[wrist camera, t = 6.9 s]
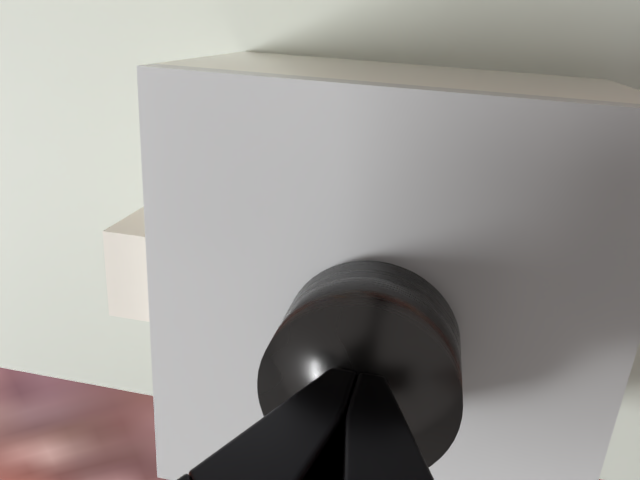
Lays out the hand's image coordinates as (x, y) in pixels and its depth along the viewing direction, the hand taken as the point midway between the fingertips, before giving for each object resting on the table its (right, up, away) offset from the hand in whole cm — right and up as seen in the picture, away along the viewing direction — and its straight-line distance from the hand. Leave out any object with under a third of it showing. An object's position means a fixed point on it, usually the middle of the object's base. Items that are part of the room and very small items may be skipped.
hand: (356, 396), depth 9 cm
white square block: (+2, +3, +7) cm, 8 cm away
